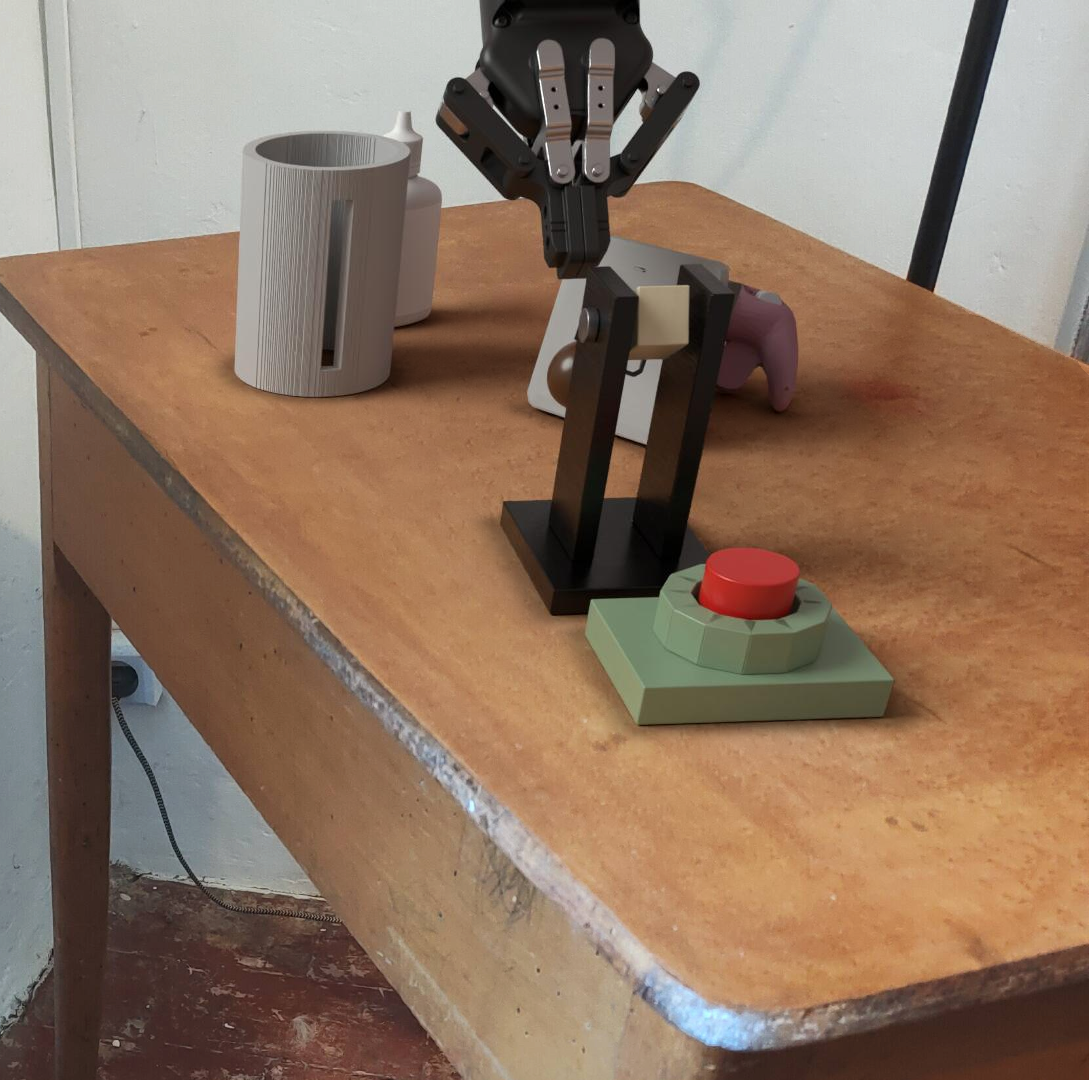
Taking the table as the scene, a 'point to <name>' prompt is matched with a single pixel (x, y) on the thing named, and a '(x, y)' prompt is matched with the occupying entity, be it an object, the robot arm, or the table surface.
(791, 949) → the table surface
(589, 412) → the bracket
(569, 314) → the electrical switch
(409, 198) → the eye dropper bottle
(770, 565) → the button
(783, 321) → the video game controller
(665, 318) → the lever
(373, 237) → the cup
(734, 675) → the button block
